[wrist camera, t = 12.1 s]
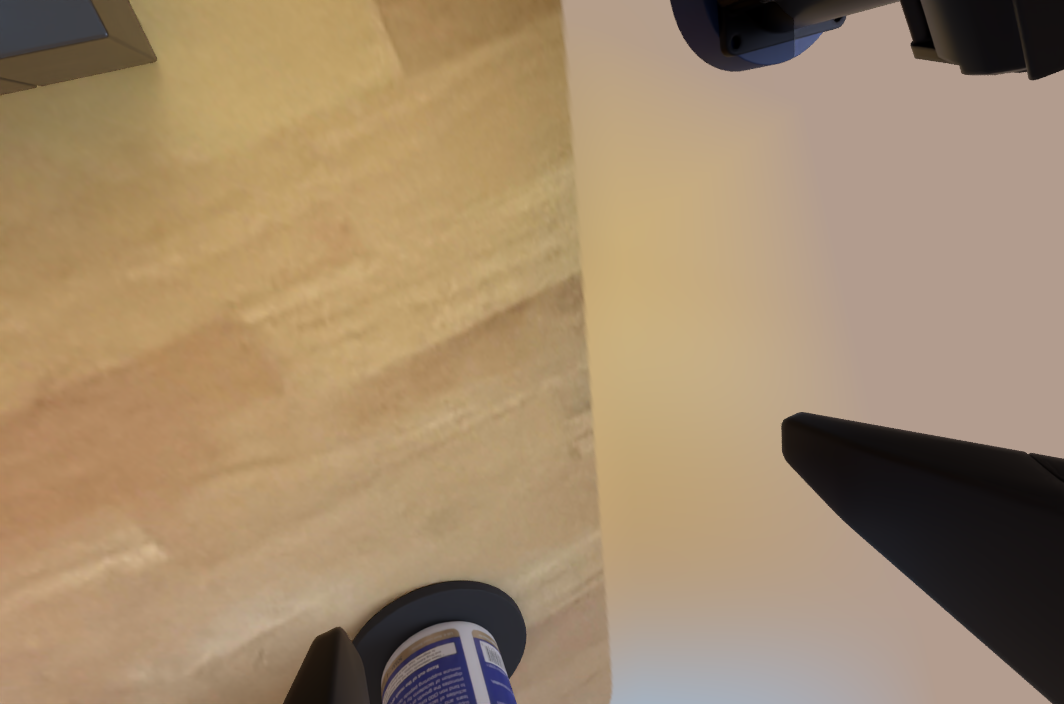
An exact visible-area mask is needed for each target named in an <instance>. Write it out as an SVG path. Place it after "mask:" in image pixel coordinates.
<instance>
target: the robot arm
mask: <svg viewBox="0 0 1064 704" xmlns="http://www.w3.org/2000/svg"><path fill="white" fill-rule="evenodd" d="M899 1H900V2H901V5H902V8H903V12H904V15H905V18H906V21H907V24H908V27H909V30H910V33H911V36H912V39H913V41H912V43H911V48H912V51H913V54H914V57H915V58H917V59H923V60H930V61H936V62H943V63H949V64H954V65H959V66H960V69H961V73H962V74H965V75H998V74H1004V73H1011V72H1015V73H1021V72H1027V73H1028V78H1029V79H1030V80H1036V79H1040V78H1043V77H1046V76H1048V75H1051V74H1053V73H1056V72H1059V71H1061V70H1064V0H717V8H718V23H719V39H720V49H721V52H722V54H723V55H724V56H726V57H733V56H737V55H741V54H745V53H748V52H752V51H756V50H759V49H763V48H767V47H770V46H774V45H778V44H781V43H785V42H789V41H792V40H796V39H800V38H803V37H807V36H811V35H814V34H818V33H822V32H825V31H829V30H833V29H836V28H839V27H841V26H842V24H843V23H844V21H845V19H846V16H847V15H850V14H854V13H858V12H861V11H865V10H869V9H873V8H876V7H880V6H884V5H887V4H891V3H895V2H899ZM732 38H733V39H734V42H735V44H734V48H732V46H731V40H732ZM781 427H782V428H781V429H782V453H783V456H784V458H785V460H786V461H787V462H788V463H789V464H790V466H791V467H792V468H793V469H794V470H795V471H796V472H797V473H798V474H799V475H800V476H801V477H802V478H803V479H804V480H805V482H806V483H807V484H808V485H809V486H810V487H811V488H812V489H813V490H814V491H815V492H816V493H817V494H818V495H819V496H820V497H821V498H822V499H823V500H824V501H825V503H826V504H828V506H829V507H830V508H831V509H832V510H833V511H834V512H835V513H836V514H837V515H838V516H839V517H840V518H841V519H842V520H843V521H844V522H845V523H847V524H848V525H849V526H850V527H851V528H852V529H853V530H854V531H855V532H857V533H858V534H859V535H860V536H861V537H862V538H863V539H865V540H866V541H867V542H868V543H869V544H870V545H871V546H873V547H874V548H875V549H876V550H877V551H878V552H879V553H881V554H882V555H883V556H884V557H885V558H886V559H887V560H889V561H890V562H891V563H892V564H893V565H894V566H895V567H897V568H898V569H899V570H900V571H901V572H902V573H904V574H905V575H906V576H907V577H908V578H909V579H910V580H912V581H913V582H914V583H915V584H916V585H917V586H918V587H920V588H921V589H922V590H923V591H924V592H925V593H926V594H928V595H929V596H930V597H931V598H932V599H933V600H935V601H936V602H937V603H938V604H939V605H940V606H941V607H943V608H944V609H945V610H946V611H947V612H948V613H949V614H951V615H952V616H953V617H954V618H955V619H956V620H957V621H959V622H960V623H961V624H962V625H963V626H964V627H966V628H967V629H968V630H969V631H970V632H971V633H972V634H973V635H975V636H976V637H977V638H978V639H979V640H980V641H981V642H983V643H984V644H985V645H986V646H988V648H989V649H991V650H992V651H993V652H994V653H995V654H997V655H998V656H999V657H1000V658H1001V659H1002V660H1003V661H1004V662H1005V663H1007V664H1008V665H1009V666H1010V667H1011V668H1013V669H1014V670H1015V671H1016V672H1017V673H1018V674H1019V675H1021V676H1022V677H1023V678H1024V679H1025V680H1026V681H1027V682H1028V683H1030V684H1031V685H1032V686H1033V687H1034V688H1035V689H1036V690H1038V691H1039V692H1040V693H1041V694H1042V695H1043V696H1044V697H1046V698H1047V699H1048V700H1049V701H1050V702H1051V703H1052V704H1064V459H1062V458H1056V457H1051V456H1045V455H1039V454H1035V453H1030V454H1027V453H1026V452H1023V451H1017V450H1012V449H1006V448H1000V447H994V446H989V445H984V444H978V443H973V442H967V441H961V440H956V439H950V438H945V437H939V436H934V435H928V434H922V433H916V432H911V431H906V430H900V429H894V428H889V427H883V426H878V425H872V424H867V423H861V422H855V421H850V420H844V419H839V418H833V417H827V416H822V415H816V414H811V413H804V412H800V413H796V414H795V415H792V416H790V417H788V418H786V419H784V420H783V422H782V426H781ZM283 704H370V701H369V695H368V689H367V682H366V676H365V670H364V666H363V662H362V659H361V657H360V655H359V653H358V652H357V650H356V648H355V647H354V645H353V643H352V642H351V640H350V639H349V637H348V635H347V634H346V632H345V631H344V630H343V629H342V628H341V627H336V628H334V629H332V630H330V631H327V632H325V633H323V634H321V635H319V636H317V637H316V638H315V639H314V641H313V642H312V644H311V646H310V649H309V651H308V653H307V655H306V657H305V659H304V661H303V663H302V665H301V667H300V669H299V671H298V673H297V675H296V677H295V680H294V682H293V684H292V686H291V688H290V690H289V692H288V694H287V696H286V698H285V700H284V702H283Z"/></svg>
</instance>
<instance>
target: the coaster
mask: <svg viewBox="0 0 1064 704" xmlns="http://www.w3.org/2000/svg"><path fill="white" fill-rule="evenodd" d="M452 621H465V622H471V623H474V624H477V625H479V626H481V627H483V628H484V629H486V630H487V631H488V632H489V633H490V634H491V635H492V636H493V638H494V640H495V641H496V644H497V646H498V649H499V651H500V654H501V657H502V661H503V663H504V666H505V669H506V672H507V675H508V678H510V677H511V676H512V674H513V673H514V671H515V670H516V668H517V666H518V664H519V663H520V660H521V658H522V655H523V653H524V649H525V644H526V627H525V623H524V619H523V617H522V614H521V612H520V610H519V608H518V606H517V605H516V603H515V602H514V601H513V599H512V598H511V597H509V596H508V595H507V594H506V593H505V592H503V591H501V590H500V589H498V588H496V587H493V586H491V585H488V584H484V583H480V582H473V581H452V582H444V583H439V584H434V585H430V586H427V587H424V588H421V589H418V590H416V591H413V592H411V593H408V594H407V595H405V596H403V597H401V598H399V599H397V600H395V601H394V602H392V603H391V604H389V605H388V606H386V607H385V608H383V609H382V610H381V611H380V612H378V613H377V614H376V615H375V616H374V617H373V618H372V619H371V620H369V621H368V622H367V623H366V624H365V626H364V627H363V628H362V629H361V631H360V632H359V633H358V634H357V636H356V638H355V639H354V641H353V642H352V643H353V645H354V647H355V648H356V650H357V652H358V653H359V655H360V657H361V659H362V662H363V666H364V670H365V676H366V682H367V689H368V695H369V701H370V704H382V696H381V680H382V675H383V671H384V669H385V666H386V664H387V662H388V661H389V659H390V657H391V656H392V655H393V653H394V652H395V651H396V650H397V648H398V647H399V646H400V645H401V644H402V643H404V642H405V641H406V640H407V639H409V638H410V637H411V636H413V635H414V634H416V633H418V632H419V631H421V630H423V629H425V628H428V627H430V626H433V625H436V624H439V623H444V622H452Z"/></svg>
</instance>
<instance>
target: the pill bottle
mask: <svg viewBox="0 0 1064 704" xmlns="http://www.w3.org/2000/svg"><path fill="white" fill-rule="evenodd" d="M381 696H382V704H517V703H516V700H515V697H514V694H513V691H512V688H511V685H510V682H509V678H508V675H507V672H506V669H505V666H504V663H503V661H502V657H501V654H500V651H499V649H498V646H497V644H496V641H495V640H494V638H493V636H492V635H491V634H490V633H489V632H488V631H487V630H486V629H484V628H483V627H481V626H479V625H477V624H474V623H471V622H465V621H452V622H444V623H439V624H436V625H433V626H430V627H428V628H425V629H423V630H421V631H419V632H418V633H416V634H414V635H413V636H411V637H410V638H409V639H407V640H406V641H405V642H404V643H402V644H401V645H400V646H399V647H398V648H397V650H396V651H395V652H394V653H393V655H392V656H391V657H390V659H389V661H388V662H387V664H386V666H385V669H384V671H383V675H382V680H381Z"/></svg>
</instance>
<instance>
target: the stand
mask: <svg viewBox="0 0 1064 704" xmlns="http://www.w3.org/2000/svg"><path fill="white" fill-rule="evenodd" d="M156 61H157V57H156V55H155V53H154V51H153V49H152V47H151V45H150V43H149V41H148V39H147V37H146V35H145V33H144V31H143V29H142V27H141V25H140V23H139V21H138V19H137V17H136V15H135V13H134V11H133V9H132V6H131V4H130V2H129V0H0V95H4V94H9V93H13V92H18V91H23V90H27V89H32V88H36V87H37V86H45V85H50V84H55V83H59V82H64V81H69V80H74V79H78V78H83V77H88V76H92V75H97V74H102V73H106V72H111V71H116V70H120V69H125V68H130V67H134V66H139V65H144V64H148V63H153V62H156Z"/></svg>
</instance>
